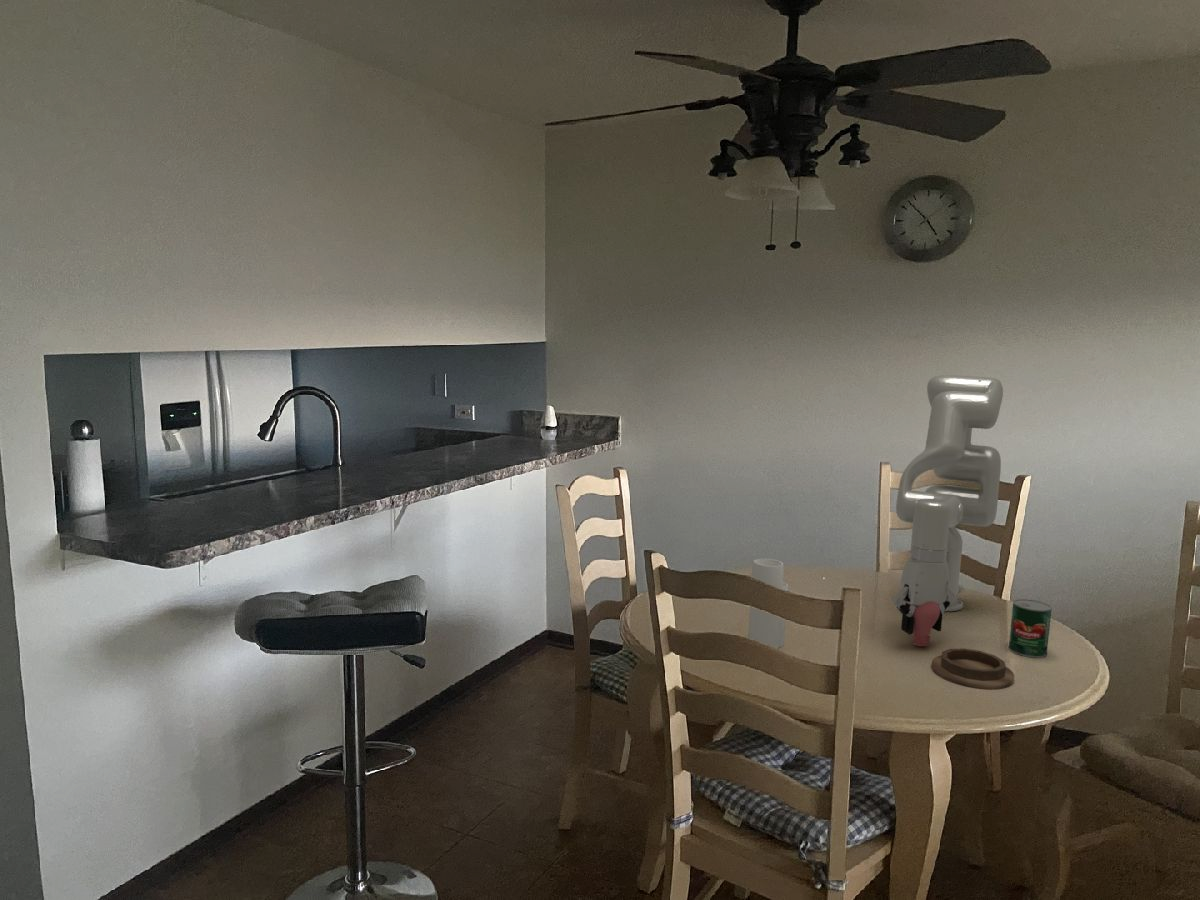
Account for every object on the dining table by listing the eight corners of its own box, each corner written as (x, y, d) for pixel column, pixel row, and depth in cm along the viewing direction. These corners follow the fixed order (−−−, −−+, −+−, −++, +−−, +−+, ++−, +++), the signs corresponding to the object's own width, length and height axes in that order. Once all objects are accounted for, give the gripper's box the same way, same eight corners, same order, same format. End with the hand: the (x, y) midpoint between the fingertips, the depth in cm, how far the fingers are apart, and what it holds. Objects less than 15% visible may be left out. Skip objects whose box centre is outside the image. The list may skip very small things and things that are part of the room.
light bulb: (897, 645, 198) (902, 594, 196) (911, 638, 203) (915, 588, 201) (928, 654, 193) (933, 602, 191) (941, 646, 198) (946, 595, 196)
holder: (955, 652, 195) (956, 640, 194) (1027, 676, 182) (1029, 663, 182) (916, 669, 185) (917, 655, 184) (990, 695, 172) (991, 681, 172)
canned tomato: (1038, 646, 201) (1043, 600, 199) (1052, 659, 193) (1058, 611, 191) (1002, 643, 202) (1007, 597, 200) (1015, 656, 194) (1020, 608, 192)
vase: (774, 658, 188) (780, 568, 185) (741, 652, 191) (746, 563, 188) (786, 642, 198) (792, 556, 195) (755, 636, 201) (760, 551, 198)
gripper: (947, 547, 201) (940, 621, 204) (884, 552, 195) (878, 628, 198) (971, 556, 194) (963, 633, 197) (907, 561, 188) (900, 640, 191)
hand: (921, 630), depth 197 cm, fingers closed on light bulb, 7 cm apart
